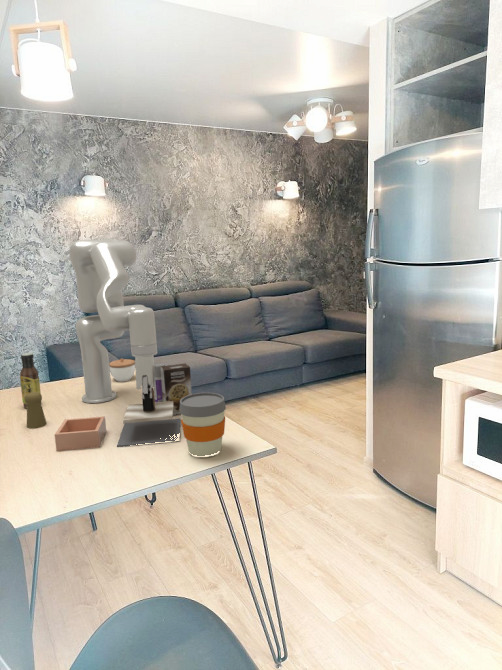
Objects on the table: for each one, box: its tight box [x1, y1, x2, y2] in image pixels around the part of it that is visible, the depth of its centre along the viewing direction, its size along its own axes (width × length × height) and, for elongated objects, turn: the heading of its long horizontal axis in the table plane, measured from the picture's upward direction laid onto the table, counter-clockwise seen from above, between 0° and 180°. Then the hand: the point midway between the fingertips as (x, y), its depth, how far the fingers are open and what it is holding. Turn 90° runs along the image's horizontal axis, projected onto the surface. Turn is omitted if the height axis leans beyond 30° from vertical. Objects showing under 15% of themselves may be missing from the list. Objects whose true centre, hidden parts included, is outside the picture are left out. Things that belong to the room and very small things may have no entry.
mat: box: [116, 417, 182, 448], centre depth 150 cm, size 18×18×1 cm
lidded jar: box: [109, 358, 136, 383], centre depth 209 cm, size 11×11×9 cm
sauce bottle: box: [19, 352, 42, 409], centre depth 177 cm, size 6×6×20 cm
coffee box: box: [161, 363, 193, 416], centre depth 166 cm, size 9×6×16 cm
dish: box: [54, 415, 107, 452], centre depth 145 cm, size 12×12×5 cm
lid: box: [122, 389, 174, 424], centre depth 148 cm, size 14×14×7 cm
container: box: [153, 362, 166, 402], centre depth 173 cm, size 5×5×15 cm
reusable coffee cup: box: [180, 392, 227, 456], centre depth 134 cm, size 13×13×15 cm
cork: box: [24, 392, 47, 429], centre depth 159 cm, size 6×6×11 cm
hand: (149, 407), depth 149 cm, fingers closed on lid, 3 cm apart
